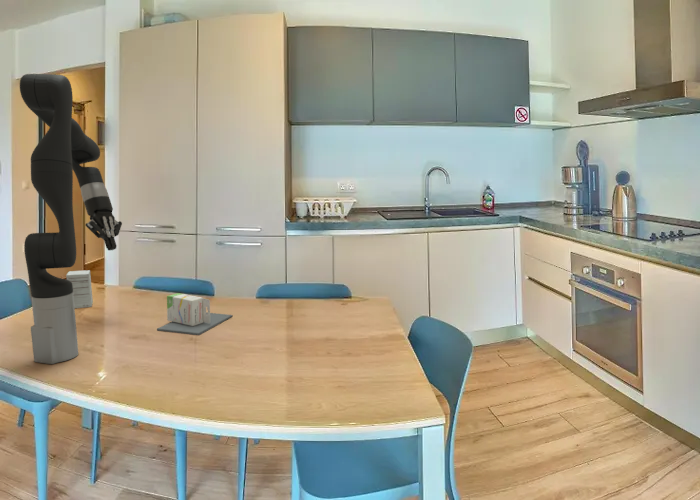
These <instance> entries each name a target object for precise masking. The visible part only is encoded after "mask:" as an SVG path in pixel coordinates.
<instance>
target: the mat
mask: <svg viewBox="0 0 700 500" xmlns="http://www.w3.org/2000/svg"><path fill="white" fill-rule="evenodd" d="M207 313H208V311H206V315H207ZM232 318H233V314H228V313H227V314H226V313H216V312H210V323H205V322H203V323H201V324H198V325H194V326H190V325H185V324H181V323H177V322H172V321H169V323H166V324H164V325H162V326H160V327H158V328H156V331H157V332H165V333H166V332H167V333H168V332H169V333H177V334H184V335H193V336H194V335H195V336H200V335H202V334H204V333H206V332H207V331H209V330H211V329H213V328H215V327H217V326H219V325H221V324H222V323H224V322H226V321H227V320H229V319H232Z"/></svg>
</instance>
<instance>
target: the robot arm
mask: <svg viewBox="0 0 700 500" xmlns="http://www.w3.org/2000/svg"><path fill="white" fill-rule="evenodd" d="M19 92H20V97H21V99H22V100H23V102H24V104H25V105H26V106H27V108H28V109H29V110H30V111H32V112H33V113H34V115H35V116H36V117H38V118H39V119H40V120H41V121H42V122H43V123H44V124H46V126H48V127H49V128H48V130H47V132H46V133H45V134H44V136H42V138H41V139H40V140H39V141H38V143H37V145H36V146H35V148H34V149H33V151H32V153H31V156H30V181H31V184H32V185H33V188H34V190H36V192H37V194H38V195H39V196H40V197H41V198H42V200H43V201H44V202H45V203H46V204H47V206H48V207H49V209H50V210H51V212H52V213H53V215H54V217H55V218H56V221H57V224H58V232H32V233H29V234H28V235H27V236H26V237H25V239H24V245H23V246H24V248H23V249H24V257H25V263H26V267H27V276H28V284H29V289H30V296H31V297H30V298H31V305H32V319H33V325H32V326H30V333H31V334H30V335H31V336H30V337H31V343H32V344H31V346H32V354H33V355H32V356H33V362H34V363H41V364H47V365H54V364H57V363H61V362H65V361H66V362H67V361H69V360H72V359H75V358H77V356H78V355H79V346H78V345H79V344H78V334H77V321H76V310H75V309H76V308H74V296H73V285H72V283H71V282H70V281H69V280H67V278H66V279H65V278H61V277H58V276H55V275H53V274H51V273H49V272H48V271H47V269H48V270H49V269H66V268H71V267H73V266H74V265H75V264H76V261H77V244H76V243H77V241H76V232H75V222H74V221H75V220H74V209H73V208H74V206H73V205H74V203H73V202H74V201H73V200H74V199H73V188H74V186H73V185H74V184H73V183H74V182H73V181H74V180H73V179H74V177H73V176H74V175H73V174H75V177H76V179H77V183H78V186H79V188H80V191H81V192H80V193H81V197H82V201H83V204H84V207H85V211H86V214H87V216H88V217H89V221H88V222H86V223H85V227H86V228H87V229H89V231H90V232H92V234H93V235H95V236H96V238H97V239H100V238H101V239H102V240H103V241H104V245H105V247H106V249H107V251H114V250H116V249H117V243H116V239H115V237H117V236H119V233H120V231H121V229H122V225H123V222H122V221H118V220H117V219H116V218H115V216H114V214H113V210H114V208H113V205H112V203H111V198H110V196H109V193H108V190H107V188H106V186H105V183H104V180H103V177H102V174H101V171H100V169H99V168H98V167H96V166H82V164H87V163H91V162H96V161H97V160H99V159H100V157H101V150H100V147H99V145H98V144H97V142H95V141H94V139H92V138H91V137H89V136H88V135H87V134H85V132H84V131H83V129H82V127H81V125H80V123H78V122H77V121H76V119H74V118H73V103H74V102H73V101H74V100H73V96H74V95H73V89H72V85H71V82H70V79H69V78H68V77H67V76H65V75H62V74H54V73H53V74H49V73H47V74H46V73H26V74H24V75H22V76H21V77H20V79H19Z"/></svg>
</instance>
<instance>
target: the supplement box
mask: <svg viewBox="0 0 700 500" xmlns="http://www.w3.org/2000/svg"><path fill="white" fill-rule="evenodd" d="M65 276H66V277H65V278H66V280H69V281H70V282H71V283H72V285H73V296H74V308H75V309H82V308H92V307H93V302H94V300H93V299H94V298H93V288H92V279H91V278H92V277H91V270H90V269H89V270H72V271H71V270H70V271H68V272H67V273H66V275H65Z"/></svg>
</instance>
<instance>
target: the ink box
mask: <svg viewBox="0 0 700 500" xmlns="http://www.w3.org/2000/svg"><path fill="white" fill-rule="evenodd" d="M166 307H167V308H166V316H167V319H166V320H167V321H168V322H177V323H181V324H185V325H190V326H194V325H198V324H201V323H203V322H205V323H210V313H211V301H210V299H208V298H207V299H206V298H204V297H200V296H195V295H189V294H185V293H180V292H177V293H173V294H169V295H166ZM206 312H207V315H206Z"/></svg>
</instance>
